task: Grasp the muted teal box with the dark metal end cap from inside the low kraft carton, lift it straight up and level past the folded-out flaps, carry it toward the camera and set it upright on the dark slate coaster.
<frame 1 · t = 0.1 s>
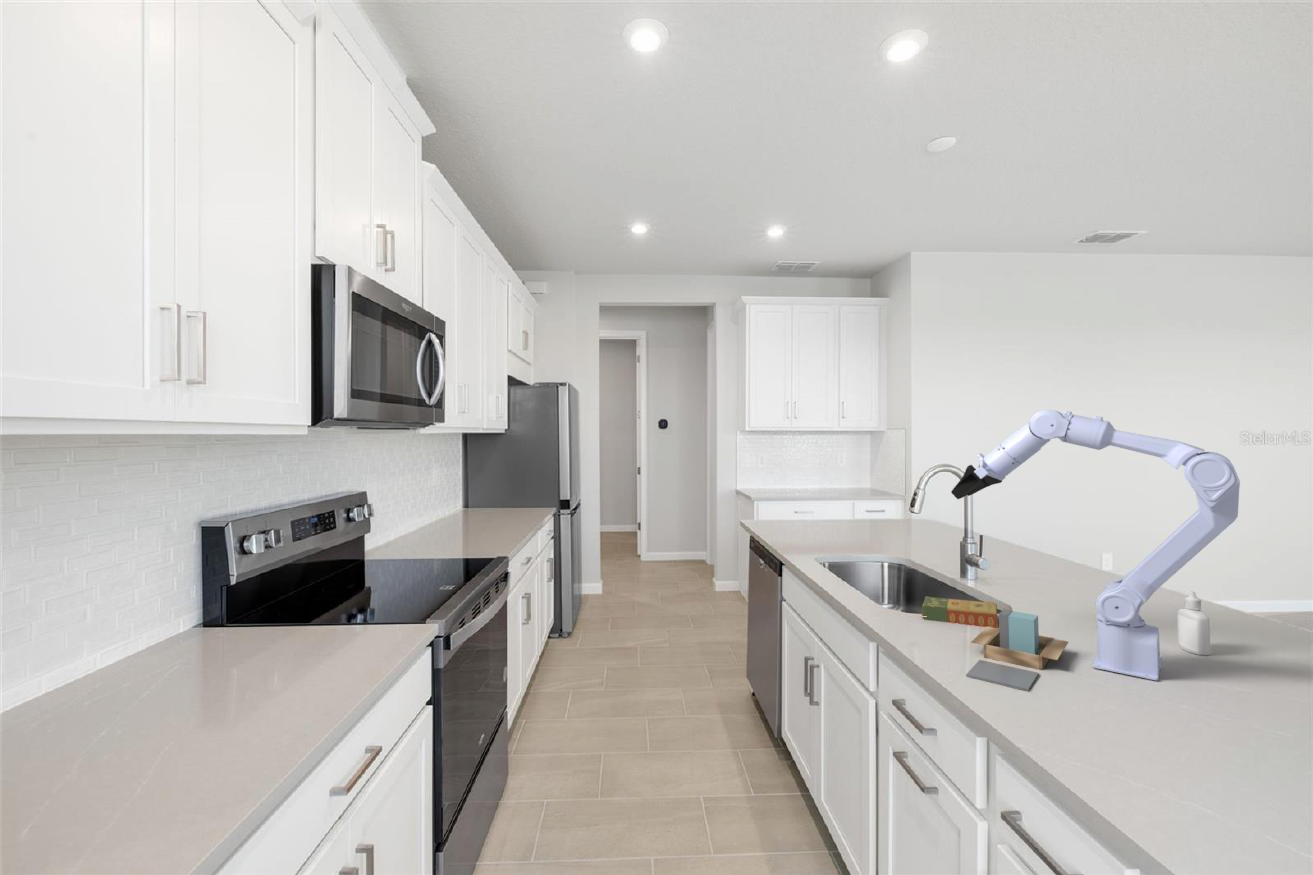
hand: (960, 494, 130), 32 cm above the worktop, tool tilted 50°, fingers open, 7 cm apart
slate coaster: (1002, 675, 109), on the worktop
capped box: (1019, 634, 119), in the open carton
carton: (959, 621, 142), on the worktop
eye dropper bottle: (1193, 651, 118), on the worktop
open carton: (1019, 653, 119), on the worktop
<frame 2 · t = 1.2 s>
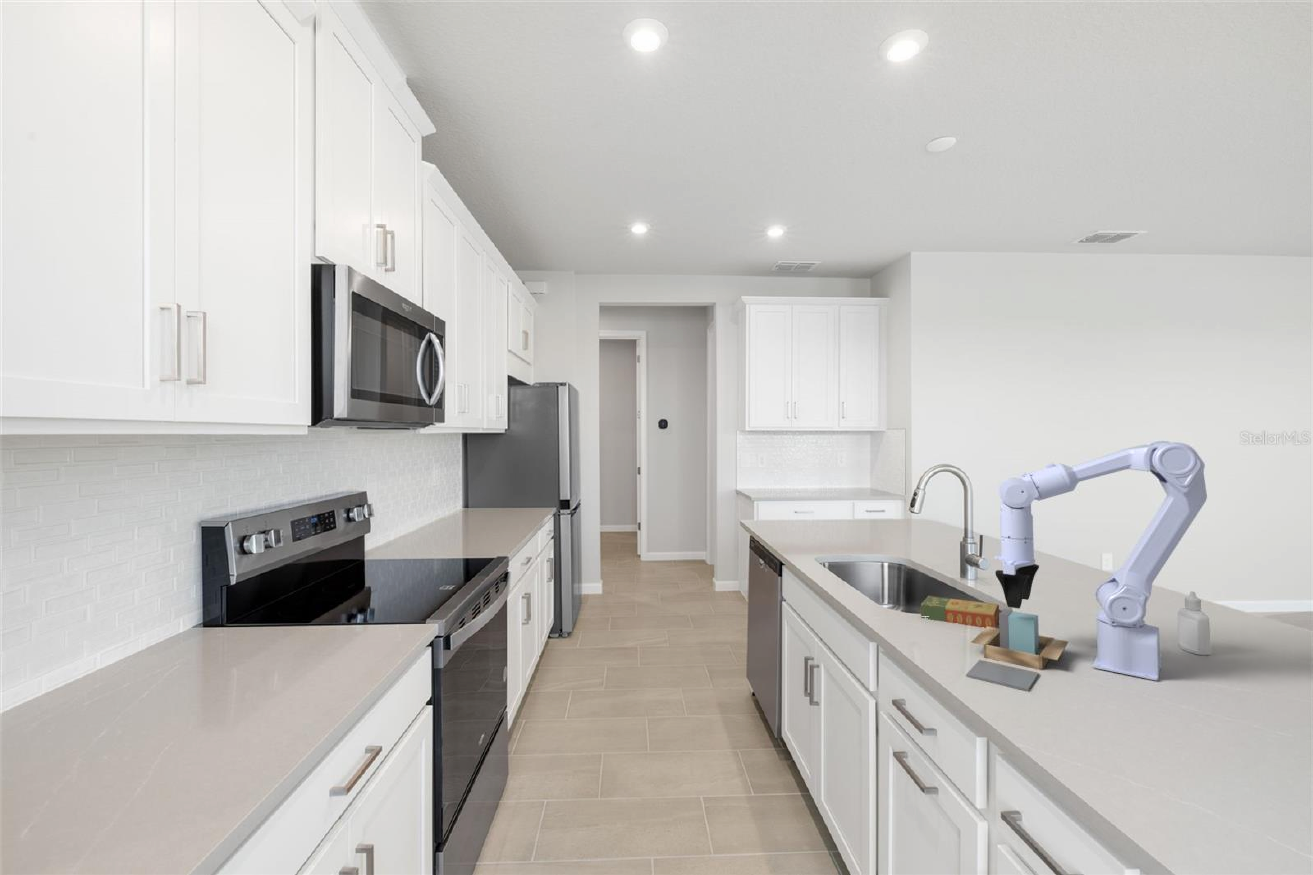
hand: (1018, 603, 119), 10 cm above the worktop, tool pointing down, fingers open, 7 cm apart
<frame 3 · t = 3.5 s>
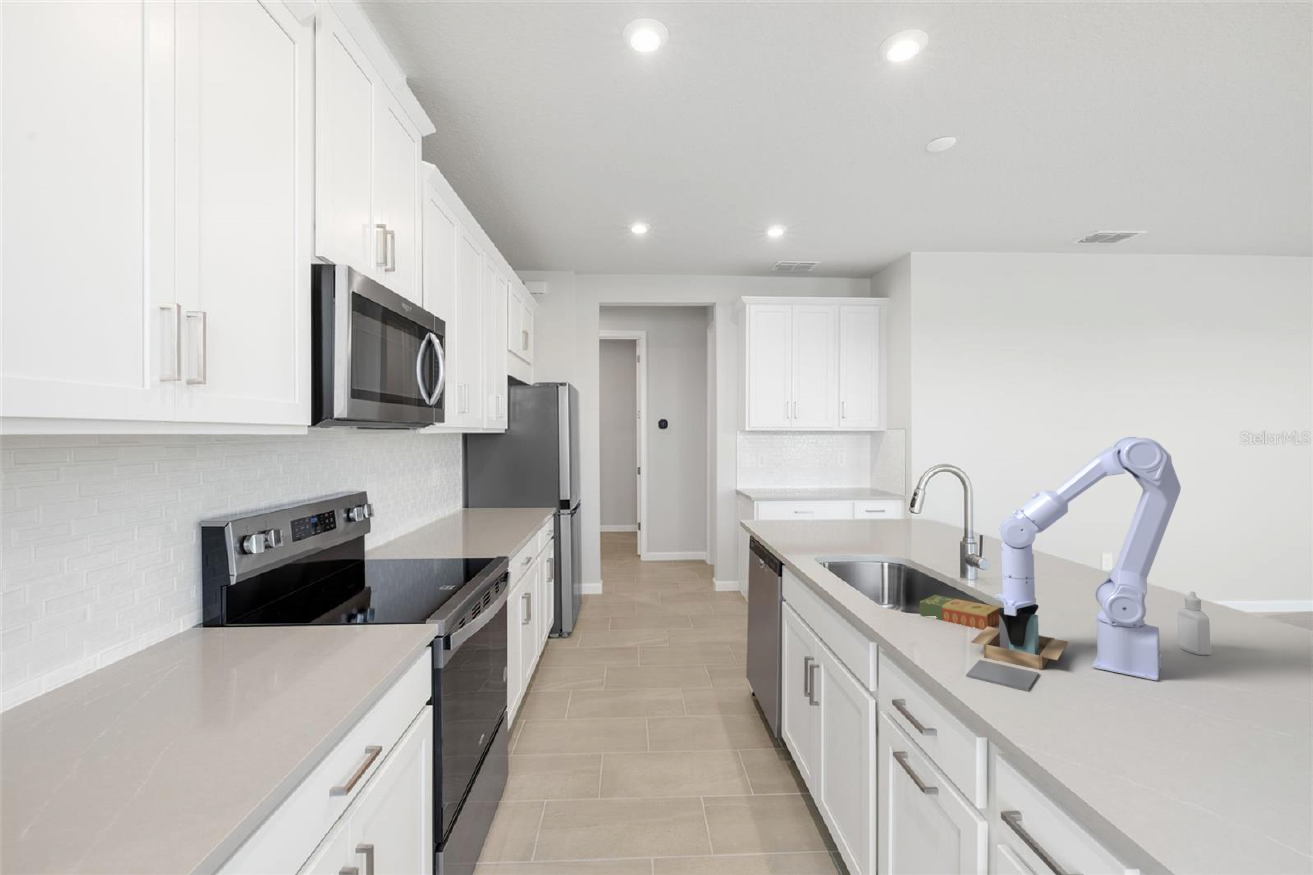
hand: (1019, 641, 119), 2 cm above the worktop, tool pointing down, fingers closed on capped box, 4 cm apart
capped box: (1019, 634, 119), in the open carton, touching gripper
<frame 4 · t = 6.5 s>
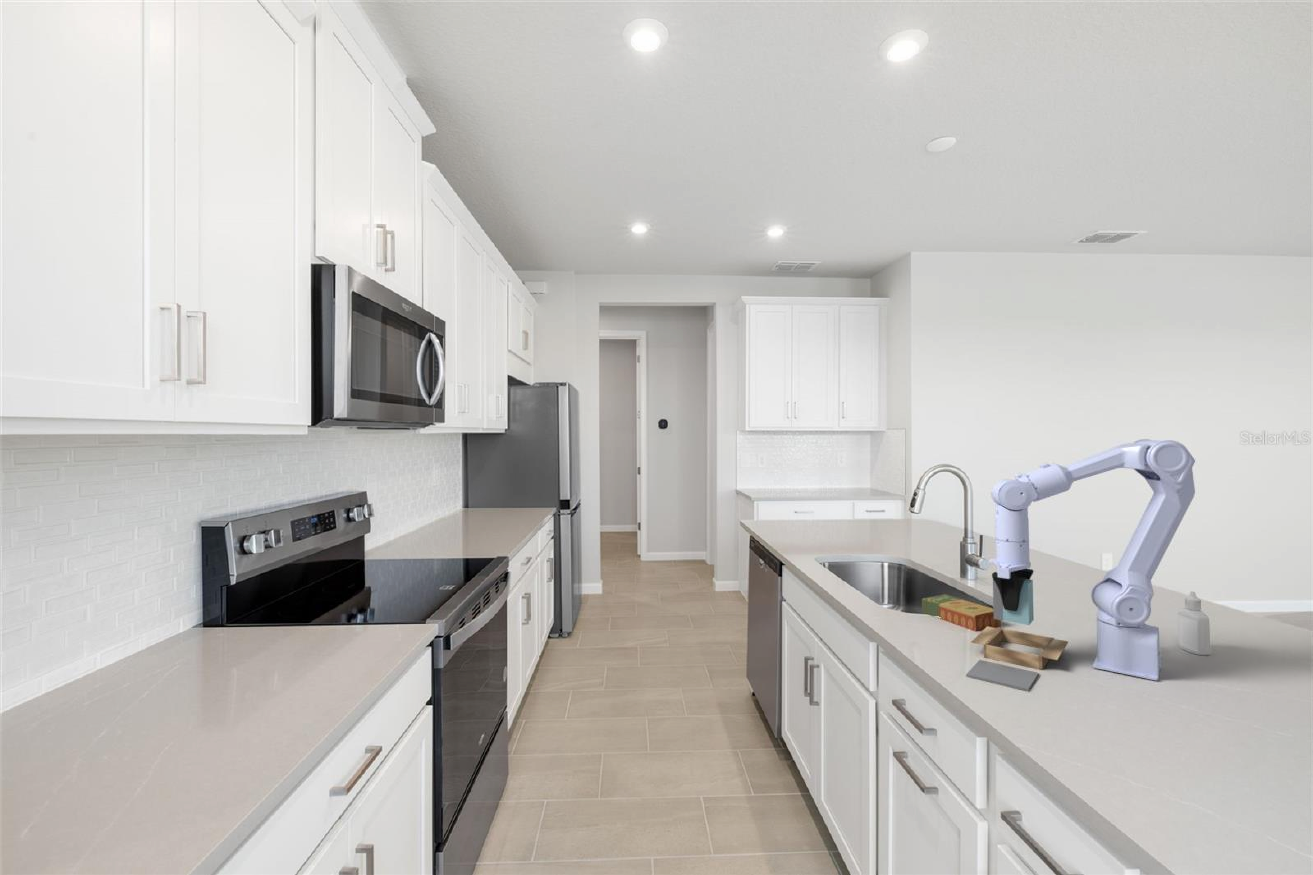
hand: (1013, 607, 117), 10 cm above the worktop, tool pointing down, fingers closed on capped box, 4 cm apart
capped box: (1013, 599, 117), point 12 cm above the worktop, touching gripper
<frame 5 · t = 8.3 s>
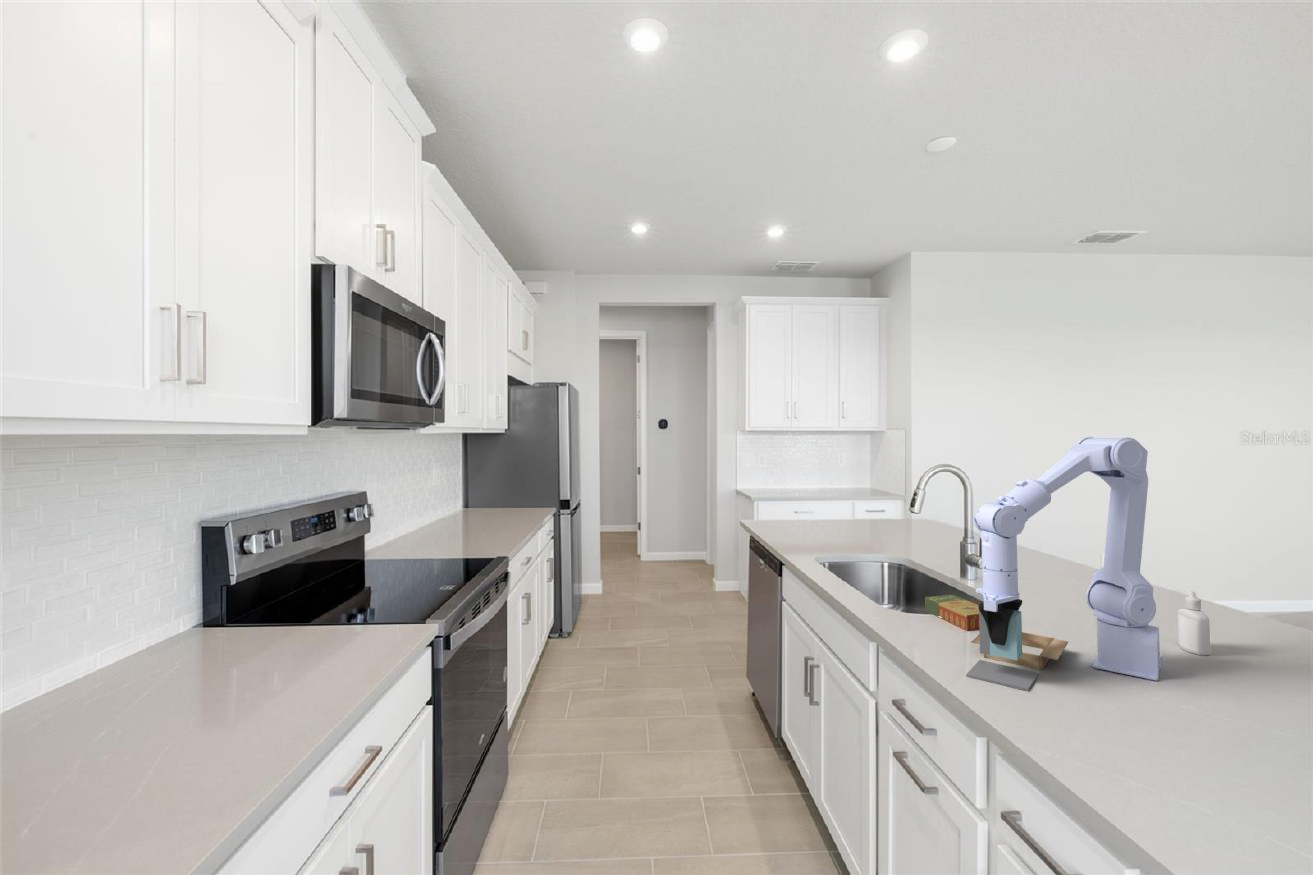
hand: (1001, 640, 109), 7 cm above the worktop, tool pointing down, fingers closed on capped box, 4 cm apart
capped box: (1000, 631, 109), point 8 cm above the worktop, touching gripper
when the fingers open (4 cm above the worktop, at t = 9.7 s): capped box drops 1 cm, resting on slate coaster.
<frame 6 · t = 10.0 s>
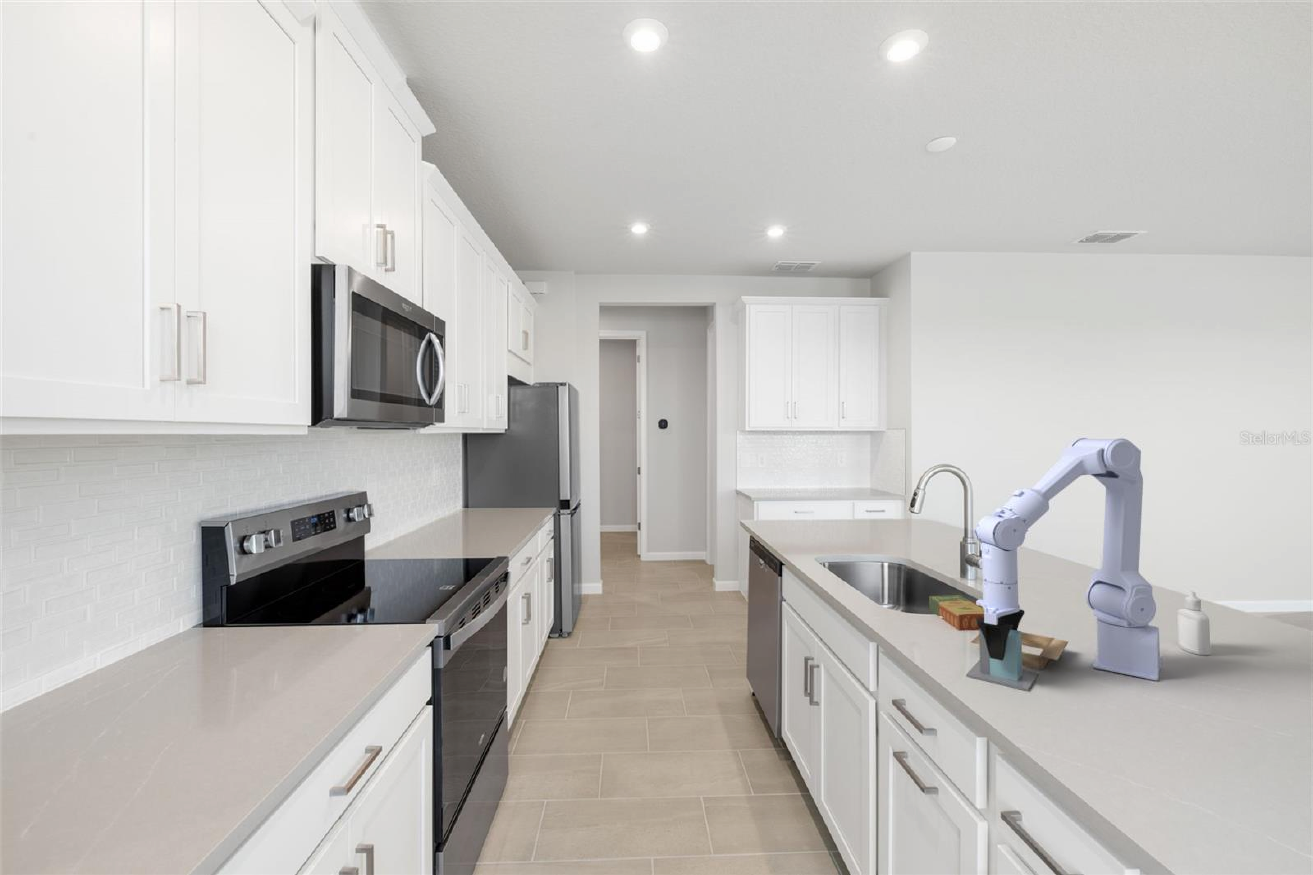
hand: (1001, 652, 109), 4 cm above the worktop, tool pointing down, fingers open, 7 cm apart
capped box: (1000, 651, 109), on the slate coaster
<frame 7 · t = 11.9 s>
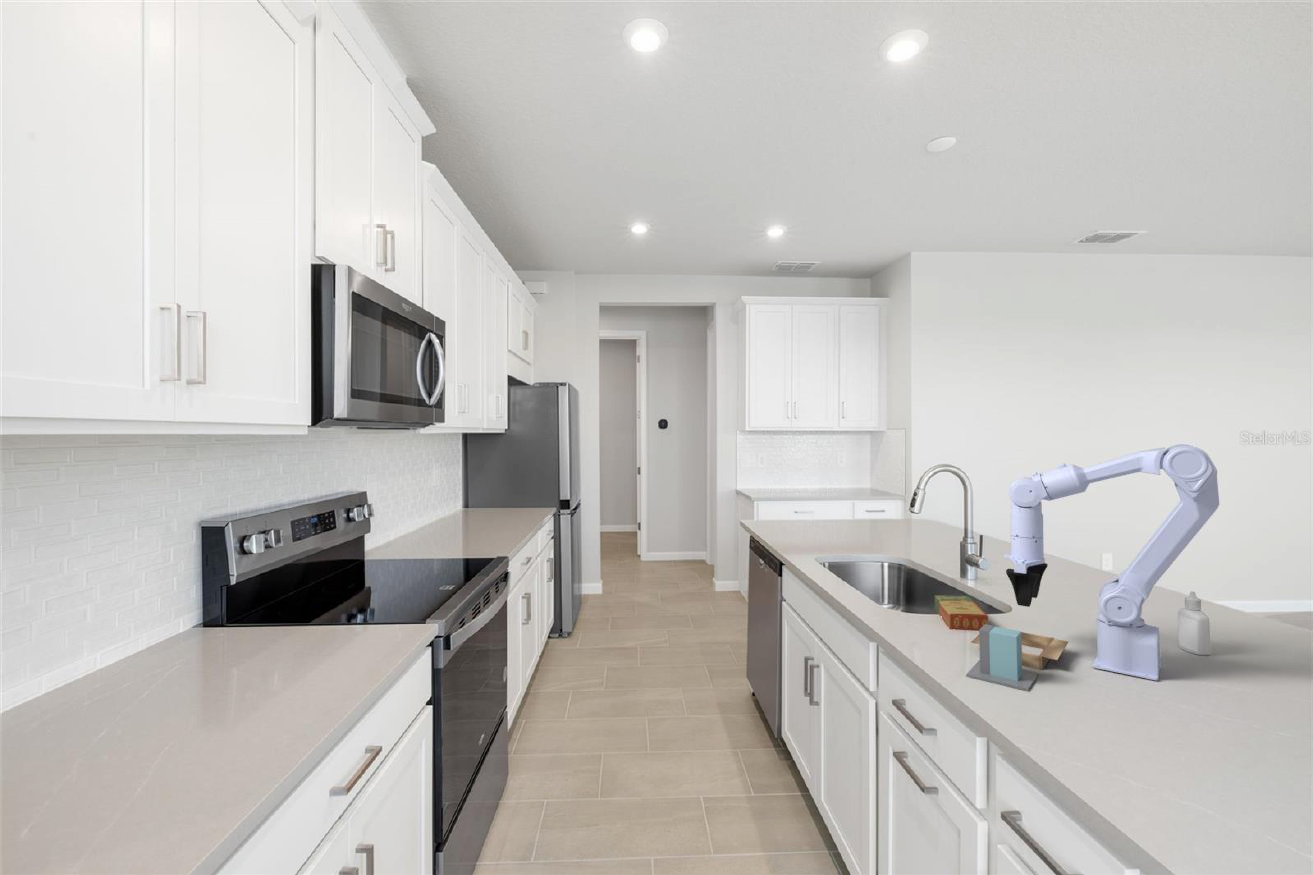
hand: (1027, 601, 120), 10 cm above the worktop, tool pointing down, fingers open, 7 cm apart
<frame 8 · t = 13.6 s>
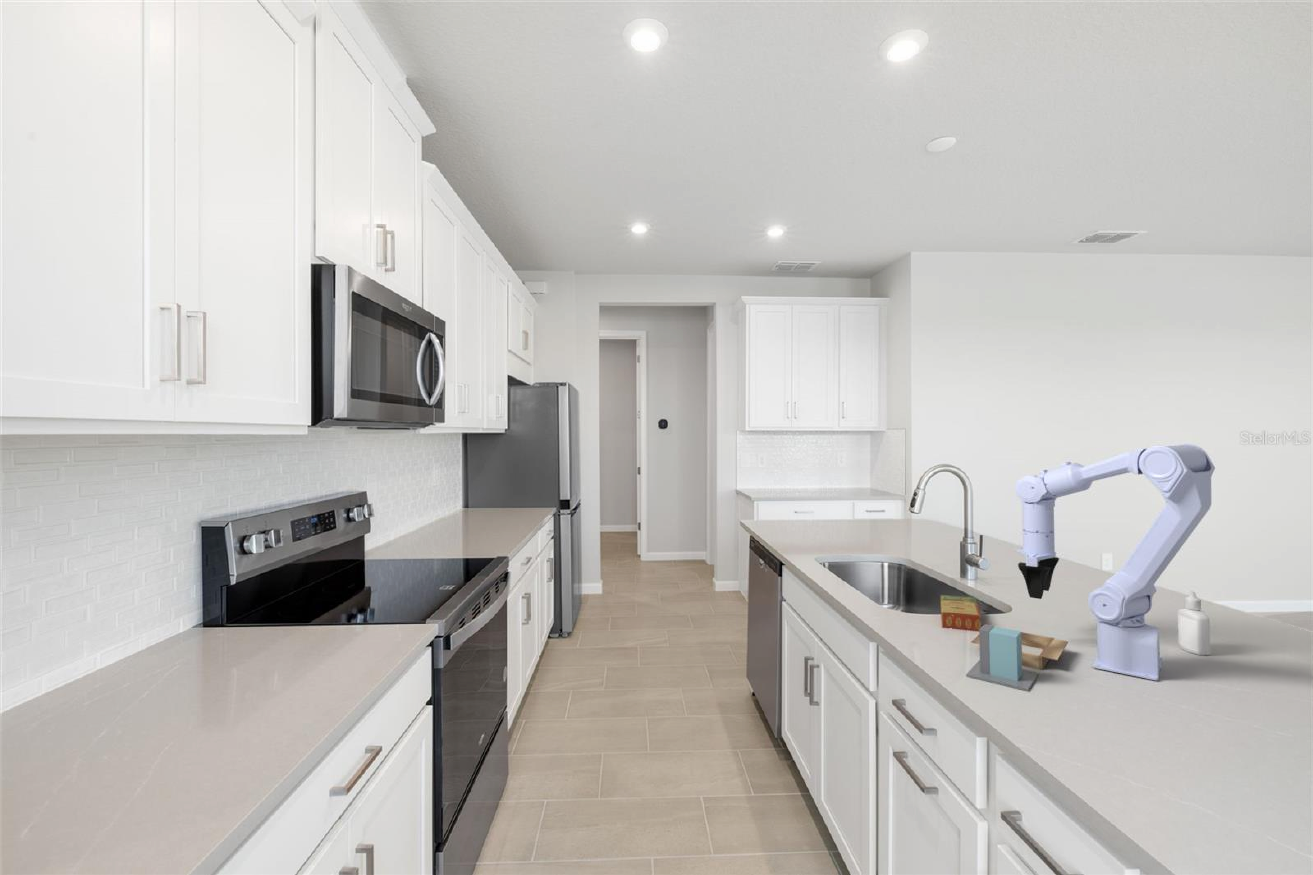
hand: (1039, 593, 125), 10 cm above the worktop, tool pointing down, fingers open, 7 cm apart
at the end: capped box inside the target area on the slate coaster (0.2 cm from its centre), point 4.4 cm above the slate coaster's base; capped box tilted 0°; the gripper is holding nothing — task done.
